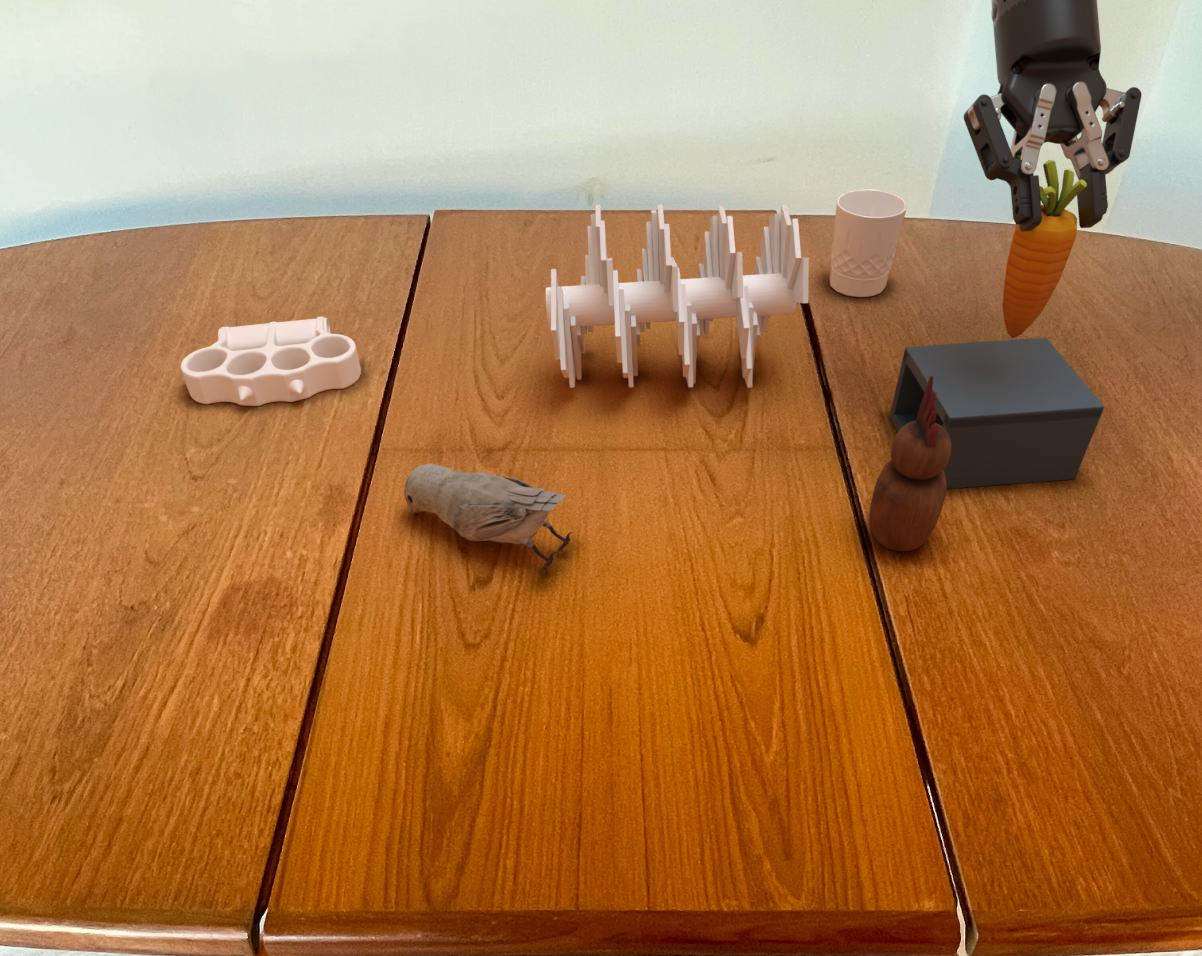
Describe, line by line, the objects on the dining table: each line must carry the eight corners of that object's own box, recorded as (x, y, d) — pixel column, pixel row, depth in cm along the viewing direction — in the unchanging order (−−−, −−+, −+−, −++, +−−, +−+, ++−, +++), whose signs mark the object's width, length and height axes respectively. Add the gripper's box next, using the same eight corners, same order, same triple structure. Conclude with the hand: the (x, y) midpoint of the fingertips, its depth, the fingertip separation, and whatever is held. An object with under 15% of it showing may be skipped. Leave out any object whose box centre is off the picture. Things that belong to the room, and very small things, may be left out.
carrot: (1050, 350, 85) (1110, 176, 75) (994, 353, 85) (1046, 179, 75) (1029, 321, 89) (1083, 151, 78) (976, 324, 89) (1022, 154, 78)
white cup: (857, 264, 123) (872, 183, 116) (903, 288, 118) (921, 206, 111) (810, 280, 120) (822, 199, 113) (856, 306, 115) (871, 223, 108)
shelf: (1022, 407, 100) (1046, 337, 94) (1074, 479, 91) (1104, 406, 86) (888, 417, 99) (905, 346, 93) (929, 490, 90) (950, 417, 85)
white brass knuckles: (359, 332, 112) (362, 401, 102) (198, 349, 110) (184, 422, 100) (354, 305, 110) (356, 373, 100) (188, 322, 108) (173, 393, 97)
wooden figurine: (872, 506, 89) (907, 360, 78) (937, 521, 87) (981, 374, 77) (856, 552, 84) (890, 404, 74) (924, 569, 83) (969, 420, 72)
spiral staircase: (559, 385, 111) (780, 372, 110) (548, 407, 95) (808, 392, 94) (547, 213, 105) (780, 198, 104) (532, 204, 89) (810, 186, 88)
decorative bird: (430, 495, 91) (418, 428, 86) (581, 548, 85) (579, 480, 80) (395, 529, 87) (381, 461, 82) (550, 586, 82) (546, 518, 77)
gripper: (978, -14, 74) (997, 212, 74) (1159, -22, 75) (1178, 201, 75) (937, 43, 81) (954, 248, 81) (1102, 35, 82) (1119, 238, 82)
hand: (1061, 225), depth 78 cm, fingers closed on carrot, 4 cm apart
